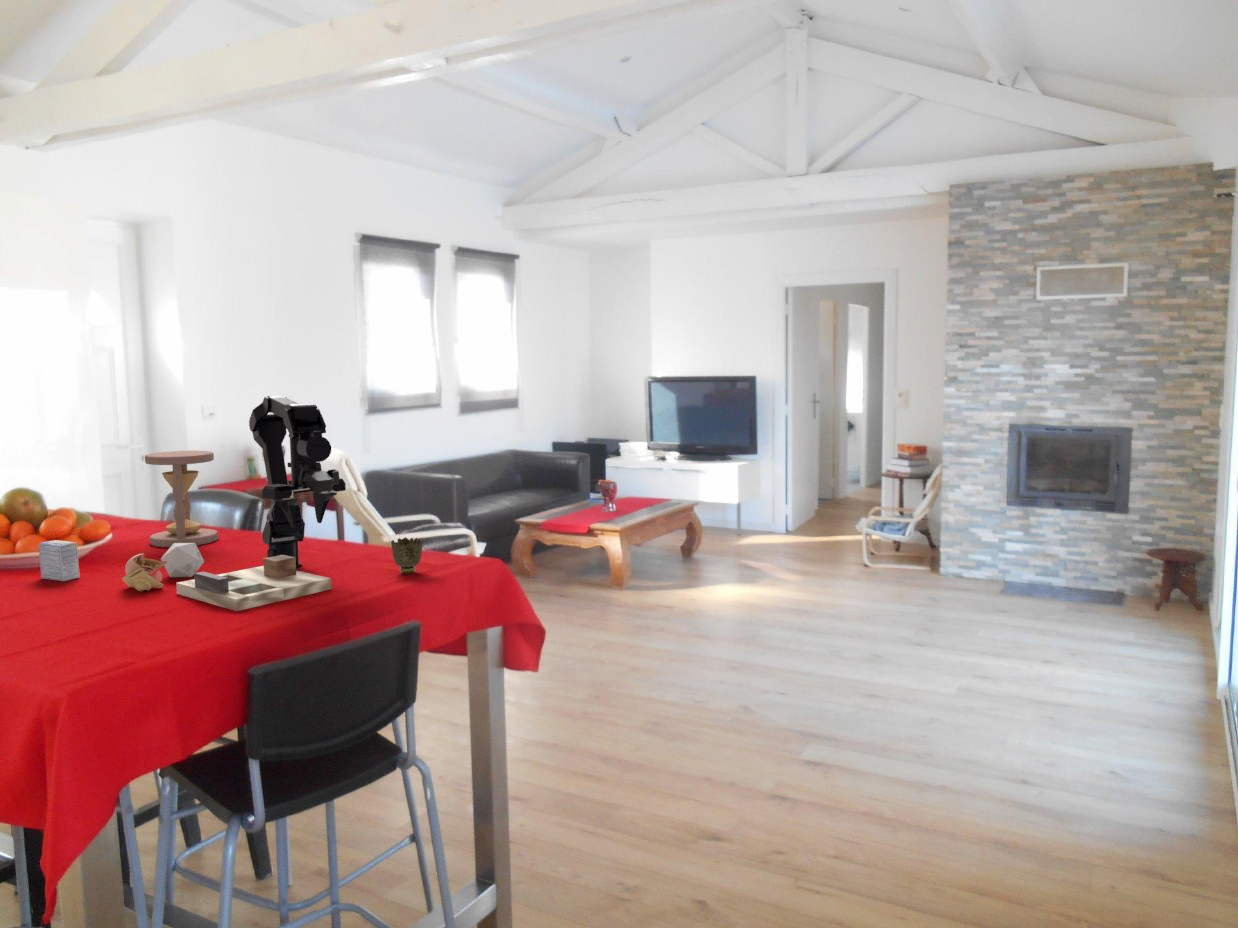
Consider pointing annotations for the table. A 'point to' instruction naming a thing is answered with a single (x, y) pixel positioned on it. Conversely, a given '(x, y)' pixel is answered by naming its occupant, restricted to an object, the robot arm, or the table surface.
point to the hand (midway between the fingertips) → (306, 524)
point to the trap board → (250, 588)
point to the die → (182, 560)
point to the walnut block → (279, 566)
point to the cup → (407, 554)
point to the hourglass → (181, 498)
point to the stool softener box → (59, 560)
